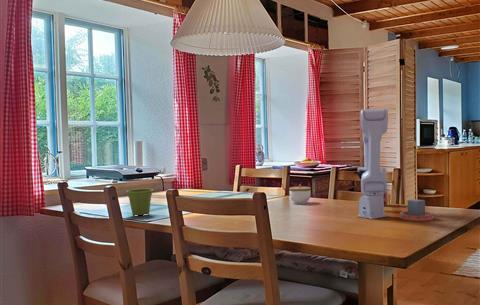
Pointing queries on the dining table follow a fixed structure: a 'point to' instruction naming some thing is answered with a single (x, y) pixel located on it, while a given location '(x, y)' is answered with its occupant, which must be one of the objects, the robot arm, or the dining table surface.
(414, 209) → the slate block
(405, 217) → the terracotta dish
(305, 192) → the lidded jar
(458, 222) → the dining table surface
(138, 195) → the plant pot
